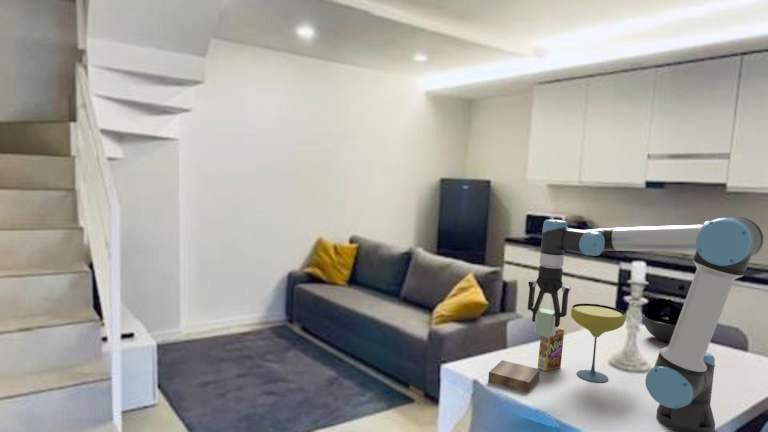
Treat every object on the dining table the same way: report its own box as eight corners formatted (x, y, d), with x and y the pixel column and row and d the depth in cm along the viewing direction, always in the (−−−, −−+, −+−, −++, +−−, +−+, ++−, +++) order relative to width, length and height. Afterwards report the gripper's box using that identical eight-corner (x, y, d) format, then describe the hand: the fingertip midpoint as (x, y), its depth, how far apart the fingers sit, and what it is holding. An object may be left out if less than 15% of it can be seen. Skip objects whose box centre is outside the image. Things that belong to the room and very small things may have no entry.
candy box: (546, 372, 186) (549, 332, 185) (537, 368, 190) (540, 328, 188) (561, 367, 191) (564, 328, 190) (552, 363, 195) (555, 325, 193)
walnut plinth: (539, 380, 180) (539, 369, 180) (528, 393, 168) (529, 382, 168) (501, 370, 187) (501, 360, 187) (488, 383, 175) (488, 372, 175)
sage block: (554, 334, 171) (556, 311, 170) (550, 337, 166) (552, 314, 166) (539, 330, 173) (541, 308, 172) (535, 334, 169) (537, 311, 168)
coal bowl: (652, 330, 244) (655, 292, 242) (697, 342, 229) (702, 302, 227) (633, 338, 231) (637, 298, 229) (680, 351, 216) (685, 308, 214)
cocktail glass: (629, 387, 176) (635, 318, 173) (579, 386, 175) (585, 316, 172) (604, 367, 194) (609, 304, 191) (558, 366, 193) (563, 302, 190)
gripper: (581, 268, 166) (574, 336, 168) (527, 260, 175) (522, 324, 178) (576, 272, 159) (569, 342, 162) (520, 263, 169) (515, 330, 172)
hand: (544, 333), depth 170 cm, fingers closed on sage block, 5 cm apart
